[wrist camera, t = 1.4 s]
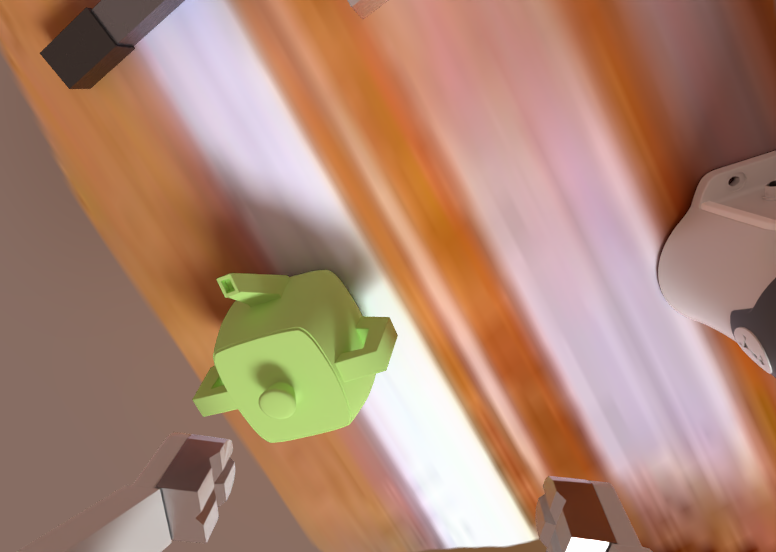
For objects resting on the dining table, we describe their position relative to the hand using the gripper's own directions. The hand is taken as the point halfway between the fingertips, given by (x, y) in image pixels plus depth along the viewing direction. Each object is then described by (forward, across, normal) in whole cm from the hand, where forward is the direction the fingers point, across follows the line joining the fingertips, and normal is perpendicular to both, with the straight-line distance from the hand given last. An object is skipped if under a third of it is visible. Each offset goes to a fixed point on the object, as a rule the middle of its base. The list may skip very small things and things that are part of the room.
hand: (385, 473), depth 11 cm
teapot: (+32, +10, +14) cm, 37 cm away
